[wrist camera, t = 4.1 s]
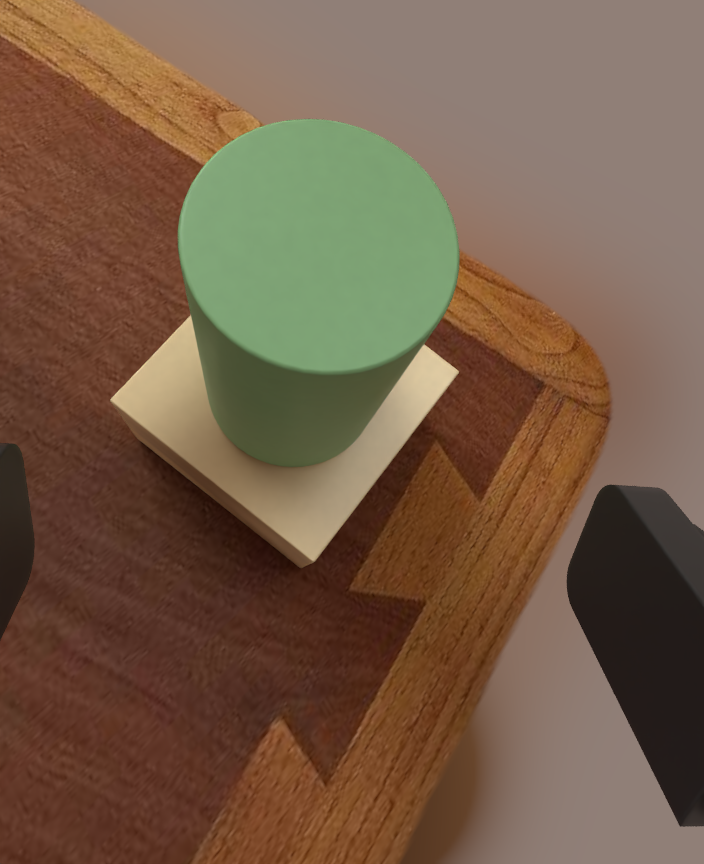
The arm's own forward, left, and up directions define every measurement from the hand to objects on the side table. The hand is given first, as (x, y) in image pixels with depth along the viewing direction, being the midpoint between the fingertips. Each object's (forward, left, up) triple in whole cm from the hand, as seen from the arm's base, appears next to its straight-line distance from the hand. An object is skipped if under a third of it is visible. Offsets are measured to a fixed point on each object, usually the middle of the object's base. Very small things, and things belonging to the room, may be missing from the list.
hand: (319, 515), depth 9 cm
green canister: (+3, -5, -11) cm, 12 cm away
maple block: (+3, -5, -16) cm, 17 cm away
